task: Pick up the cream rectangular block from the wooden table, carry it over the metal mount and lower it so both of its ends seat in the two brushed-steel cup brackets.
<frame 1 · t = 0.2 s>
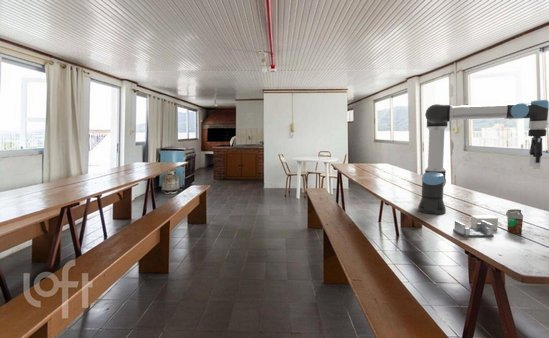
hand: (534, 167, 173), 28 cm above the table, fingers open, 13 cm apart
food container: (512, 231, 151), on the table
rail mount: (472, 233, 148), on the table
cream rectangular block: (483, 228, 157), on the table
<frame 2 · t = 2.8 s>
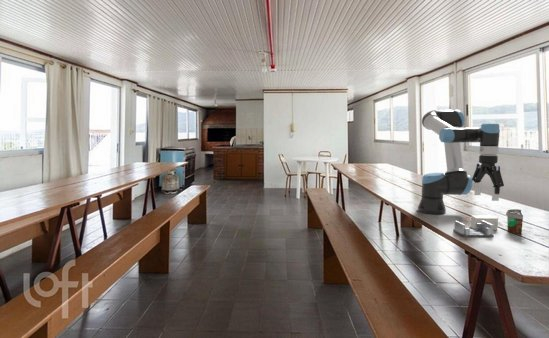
hand: (485, 197, 155), 16 cm above the table, fingers open, 13 cm apart
nothing on the table moved.
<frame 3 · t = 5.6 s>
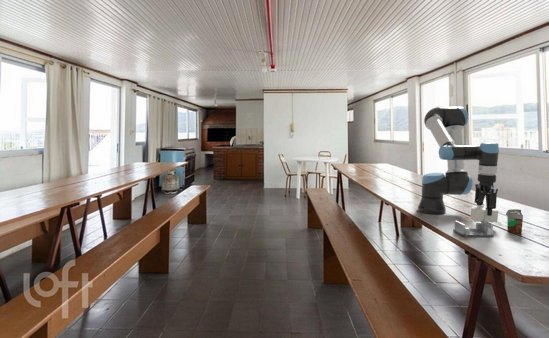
hand: (483, 219, 157), 4 cm above the table, fingers closed on cream rectangular block, 5 cm apart
cream rectangular block: (483, 220, 157), point 4 cm above the table, touching gripper
everything else where it was.
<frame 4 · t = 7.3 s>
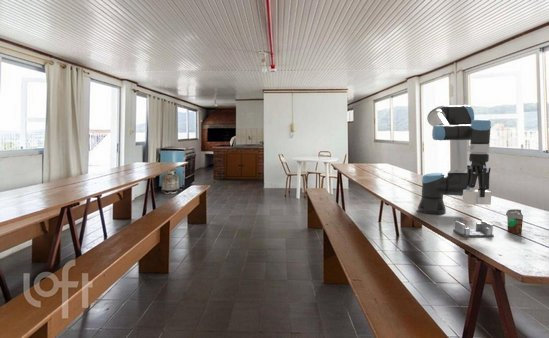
hand: (476, 202, 147), 15 cm above the table, fingers closed on cream rectangular block, 5 cm apart
cream rectangular block: (476, 203, 147), point 15 cm above the table, touching gripper
everything else where it was.
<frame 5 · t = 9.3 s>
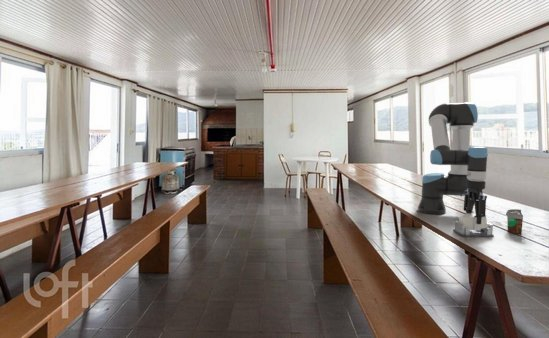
hand: (472, 228, 148), 3 cm above the table, fingers closed on cream rectangular block, 5 cm apart
cream rectangular block: (473, 227, 148), point 3 cm above the table, tilted 11°, touching gripper, rail mount
everything else where it was.
when the fingers open (2 cm above the table, at t = 9.9 s): cream rectangular block drops 2 cm, resting on rail mount.
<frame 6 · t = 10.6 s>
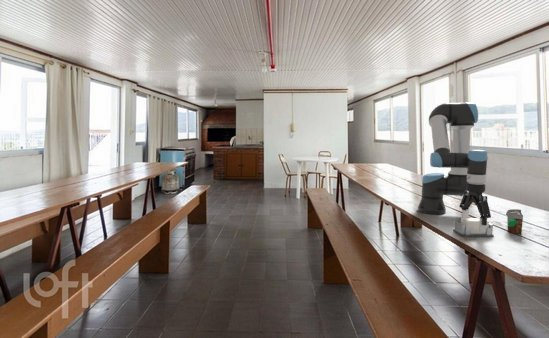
hand: (473, 227, 148), 3 cm above the table, fingers open, 13 cm apart
cream rectangular block: (474, 232, 148), point 1 cm above the table, touching rail mount
everything else where it was.
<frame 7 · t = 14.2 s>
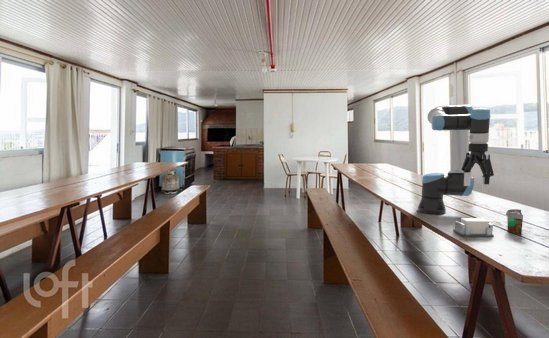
hand: (475, 188, 146), 22 cm above the table, fingers open, 13 cm apart
nothing on the table moved.
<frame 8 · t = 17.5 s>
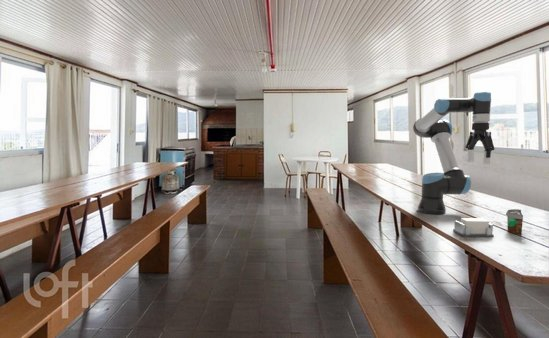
hand: (478, 162, 165), 32 cm above the table, fingers open, 13 cm apart
nothing on the table moved.
at the end: cream rectangular block 0.5 cm off-centre on the rail mount, point 1.0 cm above the rail mount's base; cream rectangular block tilted 0°; the gripper is holding nothing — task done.
